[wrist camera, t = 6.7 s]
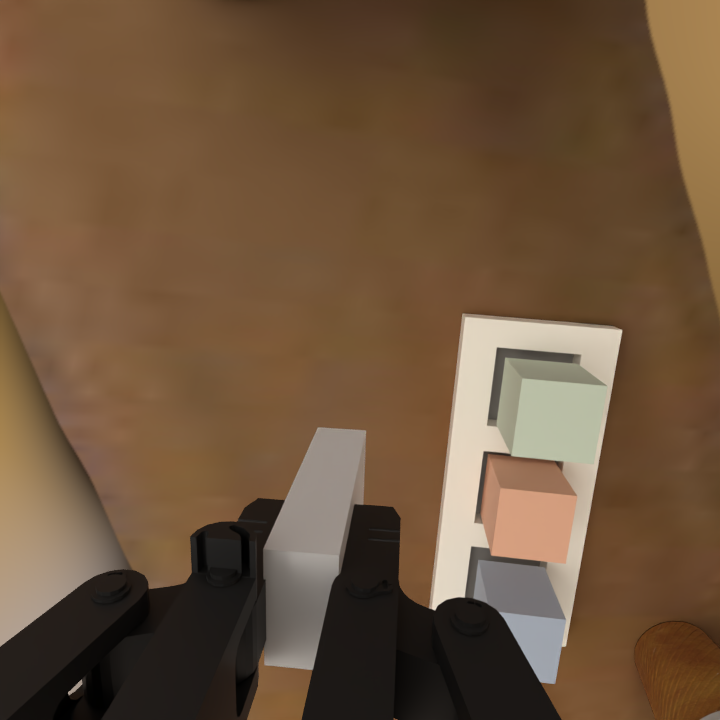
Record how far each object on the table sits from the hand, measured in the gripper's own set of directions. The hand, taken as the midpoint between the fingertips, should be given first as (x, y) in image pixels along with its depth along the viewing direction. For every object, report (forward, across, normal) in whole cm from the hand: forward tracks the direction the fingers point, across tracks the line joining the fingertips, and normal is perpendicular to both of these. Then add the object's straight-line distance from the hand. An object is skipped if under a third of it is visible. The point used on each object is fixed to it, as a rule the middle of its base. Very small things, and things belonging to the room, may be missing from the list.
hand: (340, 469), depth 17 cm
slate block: (+22, +11, -20) cm, 32 cm away
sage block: (+23, +11, -4) cm, 26 cm away
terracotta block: (+24, +11, -12) cm, 29 cm away
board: (+26, +11, -12) cm, 30 cm away
